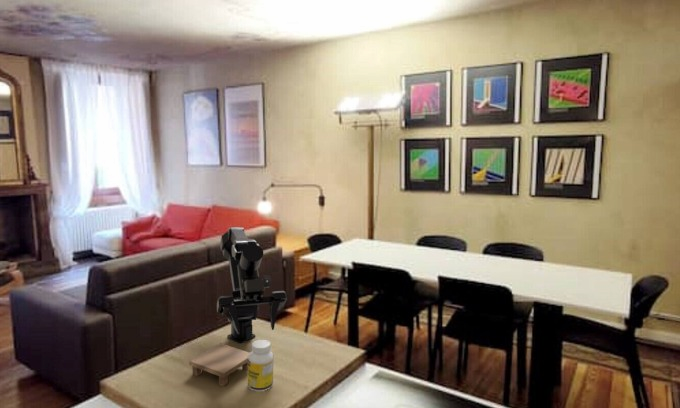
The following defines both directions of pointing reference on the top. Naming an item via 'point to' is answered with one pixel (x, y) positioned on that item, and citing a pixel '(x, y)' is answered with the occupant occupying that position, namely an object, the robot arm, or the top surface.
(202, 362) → the small wooden stand
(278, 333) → the top surface
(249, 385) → the pill bottle
